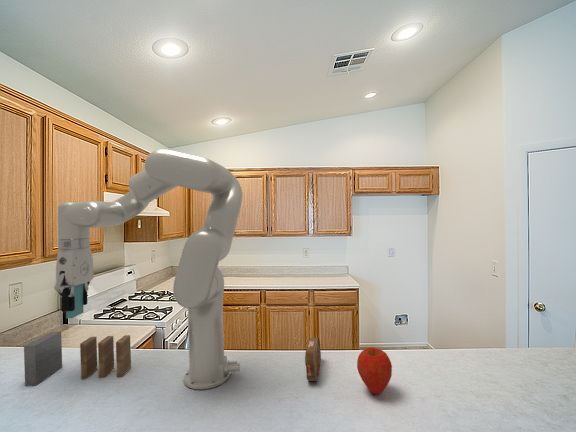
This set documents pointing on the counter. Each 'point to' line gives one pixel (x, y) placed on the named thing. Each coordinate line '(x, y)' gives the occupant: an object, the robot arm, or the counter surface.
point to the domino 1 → (76, 302)
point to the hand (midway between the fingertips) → (75, 307)
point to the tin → (313, 359)
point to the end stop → (42, 358)
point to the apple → (374, 369)
